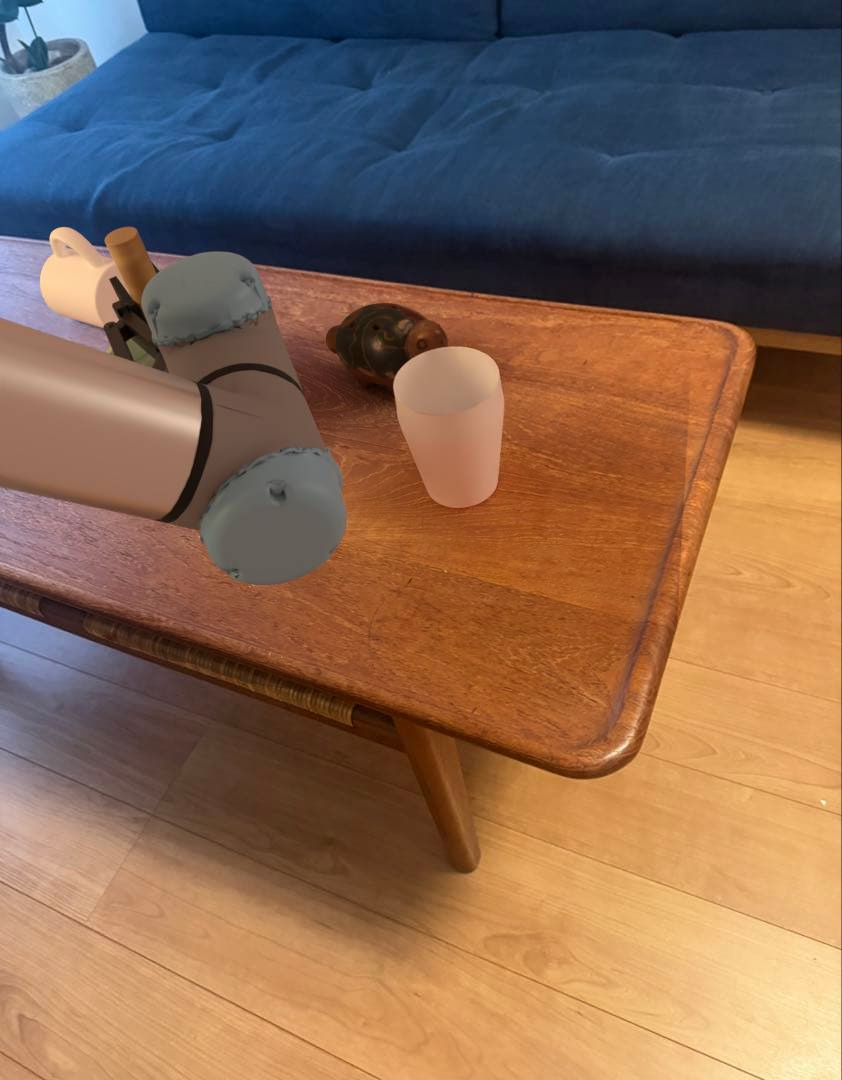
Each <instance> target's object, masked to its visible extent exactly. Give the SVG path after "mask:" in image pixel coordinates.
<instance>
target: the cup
mask: <svg viewBox="0 0 842 1080" xmlns="http://www.w3.org/2000/svg"><path fill="white" fill-rule="evenodd" d="M502 386H503V385H502V381H501V375H500V370H499V367H498V364H497V363H496V361H495V360H494V359H493V358H492V357H491V356H489V354H486V353H485V352H483V351H481V350H478V349H476V348H472V347H467V346H448V347H442V348H437V349H433V350H430V351H427V352H424V353H422V354H420V355H418V356H416V357H414V358H412V359H411V360H409V361H408V362H407V363H406V364H404V365H403V366H402V368H401V369H400V370H399V371H398V373H397V375H396V377H395V379H394V384H393V388H394V395H395V396H394V395H393V396H394V401H395V407H396V408H395V409H396V418H397V421H398V424H399V427H400V430H401V432H402V435H403V437H404V439H405V441H406V444H407V446H408V449H409V451H410V453H411V456H412V458H413V460H414V463H415V466H416V468H417V470H418V472H419V475H420V478H421V479H422V482H423V485H424V487H425V489H426V492H427V494H428V496H429V497H430V498H431V499H432V500H433V501H434V502H435V503H437V504H439V505H441V506H444V507H446V508H452V509H465V508H470V507H474V506H476V505H479V504H481V503H483V502H484V501H486V500H487V499H489V498H490V497H491V496H492V495H493V494H494V492H495V491H496V489H497V486H498V484H499V483H498V482H499V475H500V473H499V472H500V463H501V451H502V449H501V448H502V439H503V437H502V436H503V427H504V416H505V397H504V392H503V387H502Z"/></svg>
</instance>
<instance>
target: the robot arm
mask: <svg viewBox="0 0 842 1080" xmlns="http://www.w3.org/2000/svg"><path fill="white" fill-rule="evenodd" d="M151 262H152V264H153V267H154V269H155V271H156V273H157V274H156V275H155V276H154V277H153V278H152V279H151V280H150V281H149V282H148V284H147V285H146V287H145V289H144V291H143V294H142V301H141V305H142V310H143V312H144V315H145V317H146V320H147V322H148V324H147V323H146V322H145V321H144V319H143V317H142V315H141V313H140V311H139V309H138V307H137V305H136V303H135V302H134V300H133V299H132V297H131V296H130V295H129V293H128V292H127V290H126V289H125V288H124V286H123V285H122V284H121V282H120V281H119V279H118V278H117V277H116V276H115V277H112V278H110V279H109V280H110V282H111V284H112V286H113V288H114V290H115V292H116V294H117V296H118V298H119V301H117V302H115V303H112V307H113V309H114V311H115V313H116V315H117V317H118V319H119V321H118V322H117V323H116V322H108V323H106V324H105V325H104V326H103V328H102V329H103V331H104V333H105V335H106V337H107V341H108V342H109V345H110V346H111V348H112V350H113V352H114V355H112V354H109V353H106V352H104V351H103V350H100V349H96V348H94V347H91V346H87V345H85V344H81V343H78V342H75V341H72V340H71V339H70V340H69V339H67V338H64V337H60V336H57V335H54V334H51V333H49V332H46V331H42V330H39V329H37V328H34V327H30V326H27V325H24V324H21V323H18V322H15V321H13V320H9V319H6V318H3V317H0V488H1V489H5V490H10V491H16V492H18V493H19V492H20V493H24V494H29V495H33V496H39V497H43V498H48V499H51V500H56V501H57V500H58V501H62V502H67V503H71V504H76V505H81V506H86V507H91V508H95V509H100V510H104V511H108V512H113V513H119V514H122V515H123V514H124V515H128V516H132V517H136V518H143V519H148V520H151V521H156V522H159V523H165V524H167V525H172V526H175V527H179V528H180V527H181V528H186V529H190V530H194V531H199V540H200V542H201V544H203V545H204V546H205V547H206V550H207V553H208V556H209V558H210V559H211V561H212V563H213V564H214V565H215V566H216V567H217V568H218V569H220V571H221V572H223V573H225V574H226V575H229V576H230V577H231V579H233V580H236V581H237V582H240V583H244V584H247V585H254V586H271V585H272V586H273V585H281V584H285V583H290V582H293V581H296V580H298V579H301V578H304V577H305V576H307V575H309V574H311V573H313V572H315V571H316V570H317V569H319V568H320V567H322V566H323V565H324V564H325V563H326V562H327V561H328V560H329V559H330V557H332V556H333V554H334V552H335V551H337V549H338V548H339V546H340V544H341V542H342V541H343V538H344V536H345V533H346V529H347V520H348V519H347V517H348V516H347V507H346V504H345V503H346V502H345V500H344V497H343V491H344V476H343V473H342V470H341V468H340V466H339V464H338V463H337V461H336V460H335V459H334V457H333V455H332V451H331V450H330V448H329V447H328V446H326V445H325V442H324V440H323V438H322V435H321V433H320V430H319V427H318V426H317V424H316V421H315V418H314V416H313V413H312V411H311V409H310V406H309V403H308V402H307V399H306V395H305V393H304V390H303V388H302V385H301V383H300V380H299V377H298V374H297V371H296V369H295V367H294V364H293V362H292V359H291V357H290V353H289V352H288V349H287V346H286V344H285V342H284V338H283V336H282V333H281V331H280V327H279V325H278V321H277V318H276V315H275V312H274V309H273V302H272V300H271V297H270V296H269V295H268V294H267V291H266V289H265V286H264V284H263V281H262V278H261V276H260V273H259V271H258V270H257V267H256V266H255V265H254V264H253V263H252V262H251V261H250V260H249V259H248V258H246V257H244V256H242V255H240V254H237V253H235V252H229V251H206V252H199V253H196V254H193V255H189V256H185V257H183V258H180V259H178V260H176V261H173V262H172V263H170V264H168V265H167V266H165V267H164V268H162V269H161V270H159V268H158V267H157V266H156V264H155V263H154V262H153V261H152V260H151ZM129 339H132V340H133V341H134V342H135V343H136V344H138V345H139V346H140V347H141V348H142V349H143V350H145V351H146V352H147V353H148V354H149V355H150V356H152V357H153V358H154V359H155V362H154V364H153V366H152V368H151V367H148V366H145V365H142V364H139V363H136V362H135V361H134V359H133V357H132V355H131V352H130V350H129V348H128V345H127V343H126V342H127V341H128V340H129Z"/></svg>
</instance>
